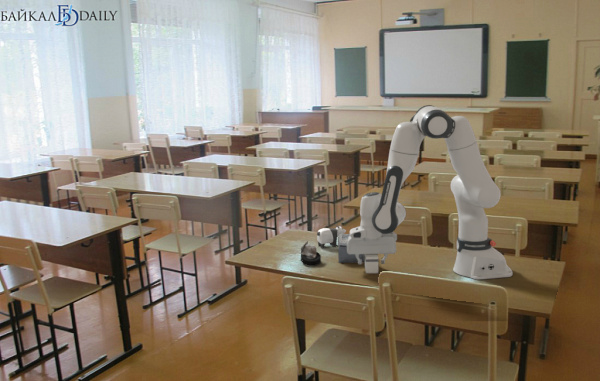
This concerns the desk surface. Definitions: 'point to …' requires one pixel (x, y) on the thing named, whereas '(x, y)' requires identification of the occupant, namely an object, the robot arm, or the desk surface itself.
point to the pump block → (371, 263)
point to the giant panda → (329, 236)
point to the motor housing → (342, 251)
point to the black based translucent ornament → (310, 255)
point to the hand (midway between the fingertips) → (371, 263)
